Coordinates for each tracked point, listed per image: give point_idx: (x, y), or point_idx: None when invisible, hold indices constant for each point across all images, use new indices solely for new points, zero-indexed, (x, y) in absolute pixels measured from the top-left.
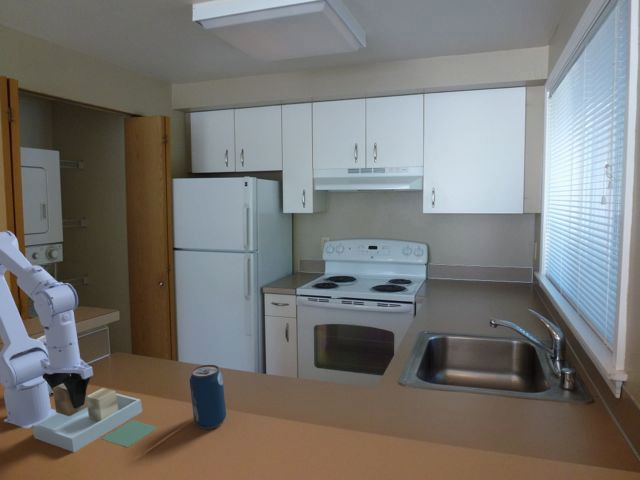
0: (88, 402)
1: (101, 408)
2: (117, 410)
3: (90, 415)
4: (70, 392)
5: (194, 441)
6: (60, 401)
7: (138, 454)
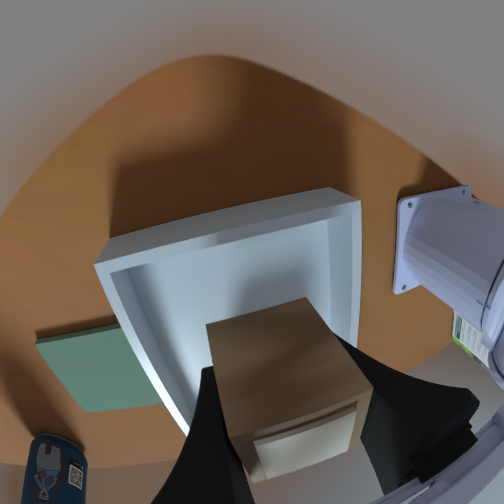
0: None
1: None
2: None
3: None
4: (199, 444)
5: (10, 407)
6: (280, 355)
7: (9, 341)
